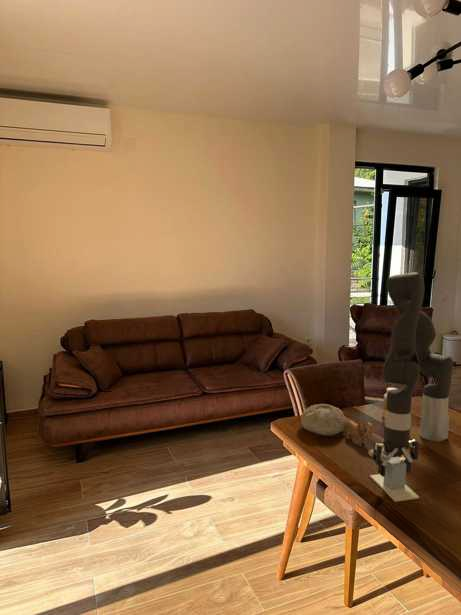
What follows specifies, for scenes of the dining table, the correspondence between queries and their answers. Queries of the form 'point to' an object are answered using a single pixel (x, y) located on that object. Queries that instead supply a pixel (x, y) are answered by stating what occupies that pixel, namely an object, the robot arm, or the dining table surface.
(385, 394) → the supplement bottle
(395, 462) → the block
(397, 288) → the robot arm
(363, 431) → the lion figurine
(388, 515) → the dining table surface
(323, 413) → the decorative shell
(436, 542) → the dining table surface
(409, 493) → the tile
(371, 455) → the pocket frame
